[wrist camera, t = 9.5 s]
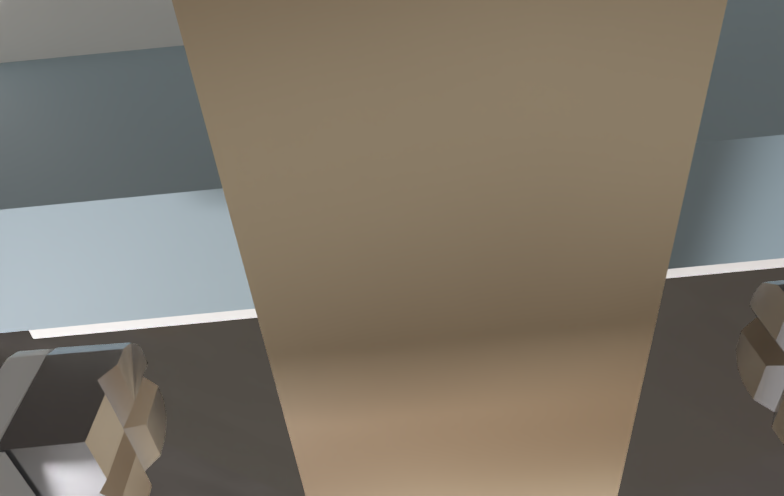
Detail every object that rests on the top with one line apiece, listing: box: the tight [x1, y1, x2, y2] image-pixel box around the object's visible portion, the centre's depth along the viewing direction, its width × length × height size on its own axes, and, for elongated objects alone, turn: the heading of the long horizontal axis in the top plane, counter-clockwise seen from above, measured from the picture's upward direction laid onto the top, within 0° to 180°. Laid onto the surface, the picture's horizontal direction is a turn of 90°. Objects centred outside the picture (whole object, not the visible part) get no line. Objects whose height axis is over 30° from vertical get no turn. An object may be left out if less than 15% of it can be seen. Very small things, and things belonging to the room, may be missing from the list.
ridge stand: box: [0, 0, 784, 339], centre depth 14 cm, size 16×26×9 cm, turn 94°
